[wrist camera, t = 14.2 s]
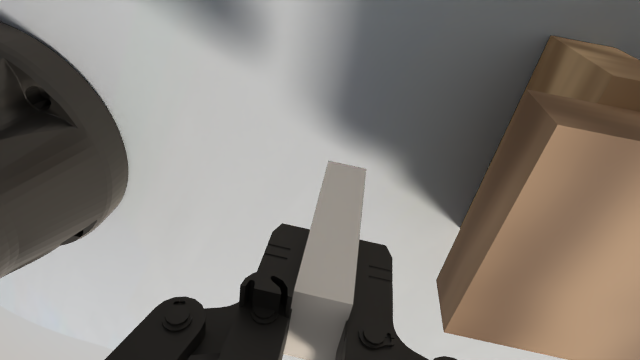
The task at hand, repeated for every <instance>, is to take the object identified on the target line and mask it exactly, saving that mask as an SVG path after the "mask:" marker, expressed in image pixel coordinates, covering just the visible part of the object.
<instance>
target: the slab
mask: <svg viewBox="0 0 640 360" xmlns="http://www.w3.org/2000/svg"><path fill="white" fill-rule="evenodd" d="M436 281H437V288H438V295H439V302H440V309H441V316H442V323H443V330H444V332H445V333H450V334H454V335H459V336H463V337H468V338H473V339H477V340H482V341H486V342H491V343H495V344H500V345H504V346H509V347H513V348H518V349H522V350H527V351H531V352H536V353H540V354H545V355H550V356H554V357H559V358H563V359H568V360H640V112H639V111H634V110H629V109H624V108H619V107H614V106H609V105H604V104H598V103H593V102H588V101H583V100H578V99H573V98H568V97H563V96H558V95H553V94H548V93H543V92H538V91H533V90H528V89H526V91H525V93H524V95H523V98H522V100H521V102H520V104H519V106H518V108H517V110H516V112H515V114H514V117H513V119H512V121H511V123H510V125H509V127H508V129H507V131H506V134H505V136H504V138H503V140H502V142H501V144H500V146H499V148H498V150H497V153H496V155H495V157H494V159H493V161H492V163H491V165H490V167H489V170H488V172H487V174H486V176H485V178H484V180H483V182H482V184H481V186H480V189H479V191H478V193H477V195H476V197H475V199H474V201H473V203H472V206H471V208H470V210H469V212H468V214H467V216H466V218H465V220H464V222H463V225H462V227H461V229H460V231H459V233H458V235H457V237H456V239H455V242H454V244H453V246H452V248H451V250H450V252H449V254H448V256H447V258H446V261H445V263H444V265H443V267H442V269H441V271H440V273H439V275H438V278H437V280H436Z"/></svg>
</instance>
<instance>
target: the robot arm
mask: <svg viewBox="0 0 640 360" xmlns="http://www.w3.org/2000/svg"><path fill="white" fill-rule="evenodd" d="M365 176H366V169H364V168H359V167H355V166H350V165H345V164H341V163H336V162H332V161H328V164H327V168H326V172H325V176H324V179H323V183H322V187H321V191H320V195H319V198H318V202H317V206H316V210H315V213H314V217H313V221H312V225H311V228H310V230H309V229H305V228H300V227H296V226H291V225H287V224H281V225H280V226H279V227H278V228H277V229H275V230H274V231H273V232H272V235H271V237H270V240H269V242H268V246H267V247H266V250H265V253H264V255H263V258H262V260H261V263H260V265H259V268H258V271H257V272H256V273H253V274H251V275H250V276H248V277H246V278H245V280H244V281H243V282H242V284H241V285H240V300H239V302H238V303H236V304H234V305H231V306H228V307H221V308H207V309H204V308H203V306H202V304H200V303H199V302H198V301H196V300H195V299H192V298H188V297H174V298H171V299H169V300H166V301H164V302H162V303H161V304H160V305H158V306H157V307H156V308H155V309H154V310H153V311H152V312H151V313H150V314H149V315H148V316H147V317H146V318H145V319H144V320H143V321H142V322H141V323H140V324H139V325H138V326H137V327H136V328H135V329H134V330H133V331H132V332H131V333H130V334H129V335H128V336H127V337H126V338H125V339H124V340H123V341H122V342H121V343H120V345H119V346H118V347H117V348H116V349H115V350H114V351H113V352H112V353H111V354H110V355H109V356H108V357H107V358H106V359H105V360H282V357H283V354H285V355H290V356H294V357H298V358H302V359H306V360H428V359H427V358H425V357H423V356H421V355H419V354H418V353H416V352H414V351H413V350H411V349H410V348H408V347H407V346H406V345H405V344H404V343H403V342H402V341H401V340H400V338H399V337H398V336H397V334H396V332H395V329H394V326H393V289H392V257H391V255H390V253H389V251H388V249H387V247H386V246H385V245H381V244H376V243H372V242H368V241H363V240H359V238H360V227H361V217H362V207H363V197H364V186H365ZM127 182H128V161H127V155H126V151H125V147H124V143H123V141H122V138H121V135H120V133H119V130H118V128H117V126H116V124H115V122H114V120H113V118H112V116H111V115H110V113H109V111H108V110H107V108H106V106H105V105H104V103H103V102H102V101H101V99H100V98H99V96H98V95H97V94H96V92H95V91H94V90H93V89H92V87H91V86H90V85H89V84H88V83H87V82H86V81H85V80H84V78H83V77H82V76H81V75H80V74H79V73H78V72H77V71H76V70H75V69H74V68H73V67H71V66H70V65H69V64H68V63H67V62H66V61H65V60H64V59H62V58H61V57H60V56H59V55H57V54H56V53H55V52H53V51H52V50H51V49H49V48H48V47H47V46H45V45H44V44H42V43H41V42H39V41H38V40H36V39H34V38H33V37H31V36H29V35H27V34H25V33H24V32H22V31H20V30H18V29H16V28H13V27H11V26H9V25H6V24H4V23H1V22H0V278H2V277H4V276H5V275H7V274H9V273H11V272H13V271H15V270H17V269H20V268H22V267H23V266H25V265H27V264H29V263H31V262H33V261H35V260H37V259H39V258H41V257H43V256H44V255H46V254H48V253H50V252H51V251H53V250H54V249H56V248H57V247H59V246H61V245H65V244H68V243H71V242H74V241H76V240H78V239H80V238H82V237H84V236H86V235H87V234H89V233H90V232H92V231H93V230H94V229H95V228H97V227H98V226H99V225H100V224H101V223H102V222H103V221H104V220H105V219H106V218H107V217H108V216H109V215H110V213H111V212H112V211H113V210H114V209H115V208H116V207H117V206H118V204H119V203H120V202H121V200H122V198H123V196H124V193H125V190H126V187H127ZM434 360H457V359H455V358H451V357H446V356H443V357H438V358H435V359H434Z"/></svg>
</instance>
